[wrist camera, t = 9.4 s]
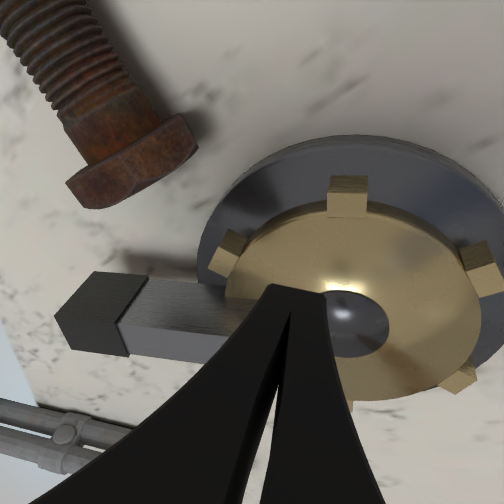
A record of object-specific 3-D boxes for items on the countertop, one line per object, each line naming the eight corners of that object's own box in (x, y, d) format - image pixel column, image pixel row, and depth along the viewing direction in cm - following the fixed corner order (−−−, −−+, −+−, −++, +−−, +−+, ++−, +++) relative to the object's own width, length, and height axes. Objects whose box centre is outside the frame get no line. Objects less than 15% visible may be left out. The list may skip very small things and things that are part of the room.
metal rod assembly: (250, 448, 33) (233, 514, 29) (250, 465, 35) (234, 529, 31) (-13, 385, 38) (-57, 434, 34) (-2, 402, 40) (-43, 450, 36)
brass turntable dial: (526, 177, 14) (569, 240, 11) (456, 403, 21) (469, 479, 18) (63, 173, 19) (1, 216, 16) (137, 358, 26) (104, 412, 23)
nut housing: (592, 166, 15) (612, 186, 14) (447, 400, 24) (451, 425, 23) (205, 110, 17) (191, 122, 16) (207, 342, 26) (198, 362, 25)
